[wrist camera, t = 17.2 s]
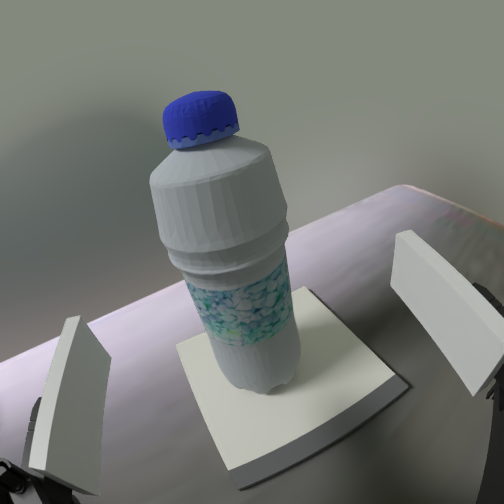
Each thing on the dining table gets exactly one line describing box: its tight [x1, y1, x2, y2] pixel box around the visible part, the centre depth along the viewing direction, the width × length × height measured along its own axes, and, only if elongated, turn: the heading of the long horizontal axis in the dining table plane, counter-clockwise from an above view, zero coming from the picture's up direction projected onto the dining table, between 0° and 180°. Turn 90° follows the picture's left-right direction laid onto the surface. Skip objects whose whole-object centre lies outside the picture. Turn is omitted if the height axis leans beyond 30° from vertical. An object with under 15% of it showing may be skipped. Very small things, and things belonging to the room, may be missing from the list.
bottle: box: [150, 91, 301, 394], centre depth 17 cm, size 7×7×20 cm
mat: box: [176, 286, 409, 491], centre depth 22 cm, size 14×15×1 cm
